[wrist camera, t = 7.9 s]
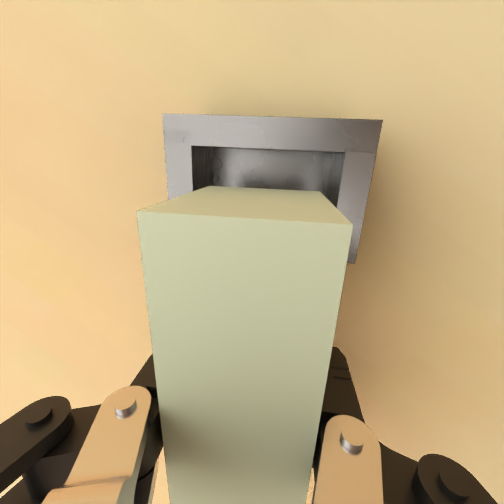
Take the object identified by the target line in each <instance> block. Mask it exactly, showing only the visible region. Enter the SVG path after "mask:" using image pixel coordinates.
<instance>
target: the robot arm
mask: <svg viewBox="0 0 504 504" xmlns="http://www.w3.org/2000/svg"><path fill="white" fill-rule="evenodd" d="M162 447H163V438H162V429H161V421H160V412H159V403H158V395H157V386H156V377H155V369H154V360H153V353H152V355H151V356H150V357H149V359H148V360H147V362H146V363H145V365H144V366H143V367H142V369H141V370H140V372H139V373H138V375H137V376H136V378H135V379H134V380H133V382H132V383H131V385H130V386H128V387H124V388H122V389H119V390H117V391H115V392H114V393H112V394H111V395H110V396H108V397H107V398H106V399H105V401H104V402H103V403H102V404H101V405H96V406H89V407H83V408H76V409H71V406H70V402H69V401H68V399H66V398H65V397H61V396H51V397H46V398H43V399H40V400H38V401H36V402H34V403H32V404H30V405H28V406H27V407H25V408H24V409H22V410H21V411H19V412H18V413H16V414H15V415H13V416H12V417H10V418H9V419H7V420H6V421H4V422H3V423H1V424H0V493H1V492H2V491H4V490H5V489H6V488H7V487H8V486H9V485H11V484H12V483H13V482H14V481H15V480H16V479H18V478H19V477H20V476H21V475H22V477H23V479H22V480H21V481H20V482H19V483H17V484H16V485H15V486H14V487H13V488H12V489H10V490H9V491H8V492H7V493H6V494H5V495H4V496H2V497H1V498H0V504H152V499H153V493H154V487H155V482H156V476H157V471H158V464H159V458H158V457H159V454H160V452H161V450H162ZM312 468H314V479H315V485H314V491H313V497H312V503H311V504H497V502H496V501H495V500H494V499H493V498H492V497H491V495H490V494H489V493H488V492H487V491H486V490H485V489H484V487H483V486H482V485H481V484H480V483H479V482H478V481H477V479H476V478H475V477H474V476H473V475H472V474H471V473H470V472H469V471H467V470H466V469H465V468H464V467H463V466H461V465H460V464H458V463H457V462H455V461H453V460H452V459H450V458H447V457H445V456H442V455H438V454H427V455H424V456H423V457H422V458H421V459H420V460H419V462H417V461H414V460H412V459H410V458H408V457H406V456H403V455H401V454H399V453H397V452H395V451H393V450H391V449H389V448H387V447H386V446H384V445H383V444H382V443H380V442H379V441H378V439H377V437H376V435H375V434H374V432H373V431H372V430H371V429H370V428H369V427H368V426H367V425H366V424H365V422H364V419H363V416H362V412H361V409H360V406H359V402H358V399H357V395H356V392H355V388H354V385H353V382H352V378H351V375H350V371H349V368H348V364H347V361H346V358H345V356H344V355H343V354H342V353H341V352H340V350H339V349H338V348H337V347H332V352H331V358H330V363H329V369H328V375H327V381H326V387H325V393H324V398H323V404H322V410H321V416H320V422H319V428H318V433H317V439H316V445H315V451H314V457H313V463H312Z"/></svg>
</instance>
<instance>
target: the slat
mask: <svg viewBox="0 0 504 504" xmlns="http://www.w3.org/2000/svg"><path fill="white" fill-rule="evenodd" d="M136 213H137V222H138V230H139V239H140V248H141V256H142V265H143V274H144V282H145V291H146V300H147V308H148V317H149V325H150V334H151V343H152V351H153V360H154V369H155V377H156V386H157V395H158V403H159V412H160V421H161V429H162V438H163V446H164V455H165V464H166V472H167V481H168V490H169V498H170V504H306V498H307V492H308V486H309V480H310V474H311V469H312V463H313V457H314V451H315V445H316V439H317V433H318V428H319V422H320V416H321V410H322V404H323V398H324V393H325V387H326V381H327V375H328V369H329V363H330V358H331V352H332V346H333V340H334V334H335V328H336V323H337V317H338V311H339V305H340V299H341V293H342V287H343V282H344V276H345V270H346V264H347V258H348V252H349V247H350V241H351V235H352V229H353V224H352V223H351V222H350V221H349V220H348V219H347V218H346V217H345V216H344V215H343V214H342V213H341V212H340V211H339V210H338V209H337V208H336V207H335V206H334V205H333V204H332V203H331V202H330V201H329V200H328V199H327V198H326V197H325V196H324V195H323V194H322V193H321V192H320V191H303V190H283V189H263V188H243V187H223V186H207V187H204V188H202V189H199V190H196V191H193V192H190V193H187V194H184V195H181V196H179V197H176V198H173V199H170V200H167V201H164V202H161V203H158V204H156V205H153V206H150V207H147V208H144V209H141V210H138V211H136Z"/></svg>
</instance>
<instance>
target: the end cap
mask: <svg viewBox="0 0 504 504" xmlns="http://www.w3.org/2000/svg"><path fill="white" fill-rule="evenodd" d="M382 121H383V120H369V119H334V118H299V117H265V116H230V115H195V114H163V128H164V143H165V158H166V173H167V187H168V200H170V199H173V198H176V197H179V196H181V195H184V194H187V193H190V192H193V191H196V190H199V189H202V188H204V187H207V186H223V187H243V188H263V189H283V190H303V191H320V192H321V193H322V194H323V195H324V196H325V197H326V198H327V199H328V200H329V201H330V202H331V203H332V204H333V205H334V206H335V207H336V208H337V209H338V210H339V211H340V212H341V213H342V214H343V215H344V216H345V217H346V218H347V219H348V220H349V221H350V222H351V223H352V224H353V229H352V235H351V241H350V247H349V252H348V258H347V263H352V264H355V261H356V256H357V250H358V245H359V240H360V235H361V230H362V225H363V219H364V214H365V209H366V204H367V199H368V194H369V188H370V183H371V178H372V173H373V168H374V163H375V158H376V152H377V147H378V142H379V137H380V132H381V127H382Z"/></svg>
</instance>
